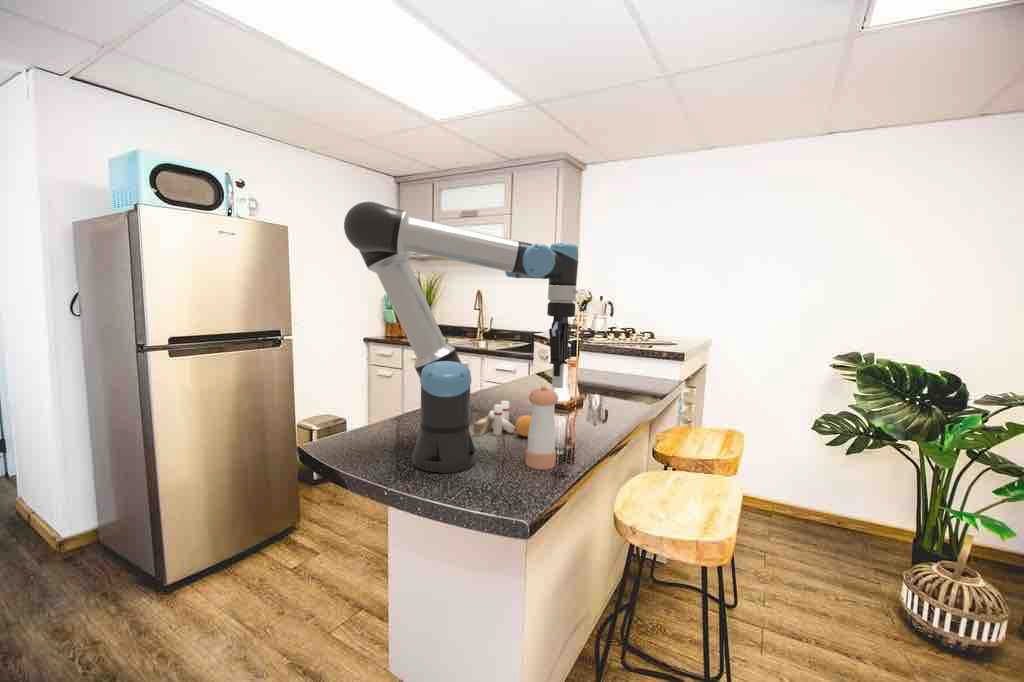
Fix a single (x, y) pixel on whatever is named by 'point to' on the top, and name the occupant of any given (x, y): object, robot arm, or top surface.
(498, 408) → the pin
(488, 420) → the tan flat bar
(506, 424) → the front pin
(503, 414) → the pin
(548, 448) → the salt shaker
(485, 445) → the top surface
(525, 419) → the ball
